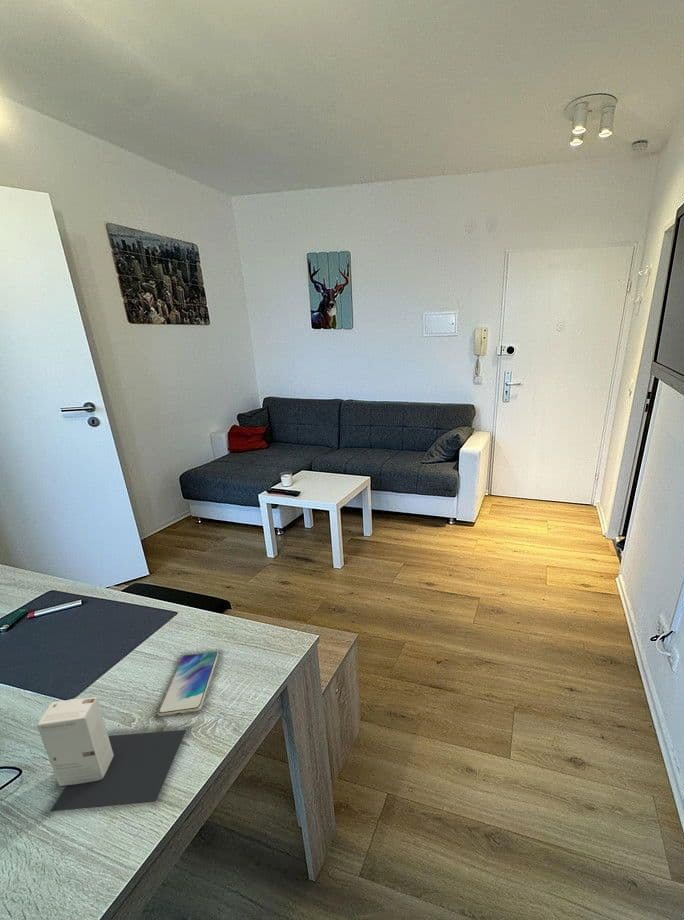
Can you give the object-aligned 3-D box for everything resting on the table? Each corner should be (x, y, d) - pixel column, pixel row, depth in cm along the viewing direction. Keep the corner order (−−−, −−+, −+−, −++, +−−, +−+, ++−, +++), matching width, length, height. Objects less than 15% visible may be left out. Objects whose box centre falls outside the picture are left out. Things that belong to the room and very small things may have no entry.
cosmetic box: (58, 788, 63) (31, 727, 58) (73, 760, 67) (49, 701, 62) (105, 780, 64) (82, 719, 59) (117, 753, 68) (97, 694, 63)
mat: (50, 813, 60) (49, 811, 60) (98, 738, 71) (97, 736, 71) (156, 803, 61) (155, 801, 61) (186, 731, 72) (186, 729, 72)
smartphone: (155, 714, 74) (181, 655, 88) (157, 718, 75) (182, 658, 88) (200, 708, 76) (219, 650, 89) (201, 712, 76) (219, 654, 90)
